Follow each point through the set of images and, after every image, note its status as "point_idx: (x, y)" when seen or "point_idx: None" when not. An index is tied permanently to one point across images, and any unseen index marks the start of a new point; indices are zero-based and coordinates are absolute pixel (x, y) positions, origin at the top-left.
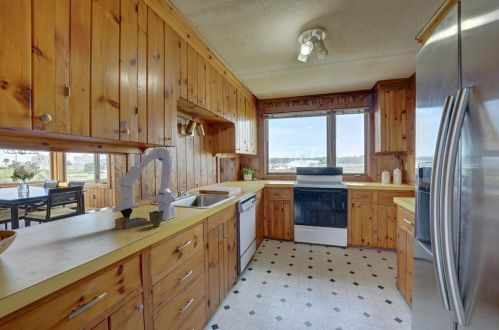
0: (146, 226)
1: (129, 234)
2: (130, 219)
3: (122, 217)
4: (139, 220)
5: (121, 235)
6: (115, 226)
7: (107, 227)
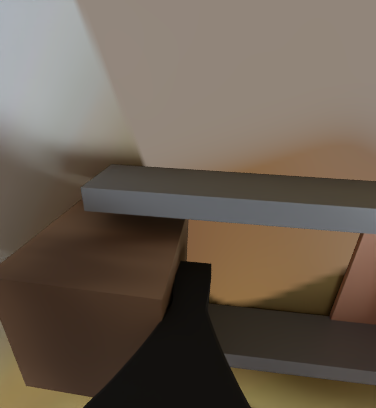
0: (252, 397)
1: (58, 400)
2: (353, 231)
3: (132, 317)
4: (308, 374)
5: (17, 376)
6: (71, 212)
7: (50, 35)
